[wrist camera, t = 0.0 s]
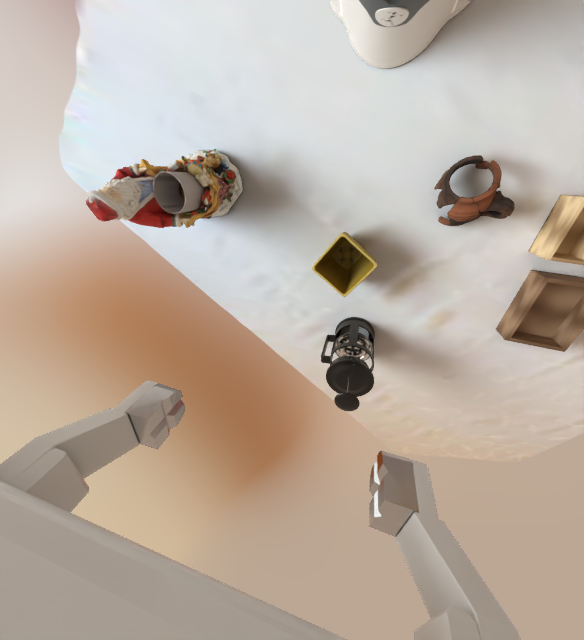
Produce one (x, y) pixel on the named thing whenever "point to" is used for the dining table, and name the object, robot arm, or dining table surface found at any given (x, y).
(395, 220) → the dining table surface
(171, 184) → the santa figurine
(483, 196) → the pottery mug
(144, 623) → the robot arm
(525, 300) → the big crate
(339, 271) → the flower pot
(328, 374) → the french press
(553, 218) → the small crate
